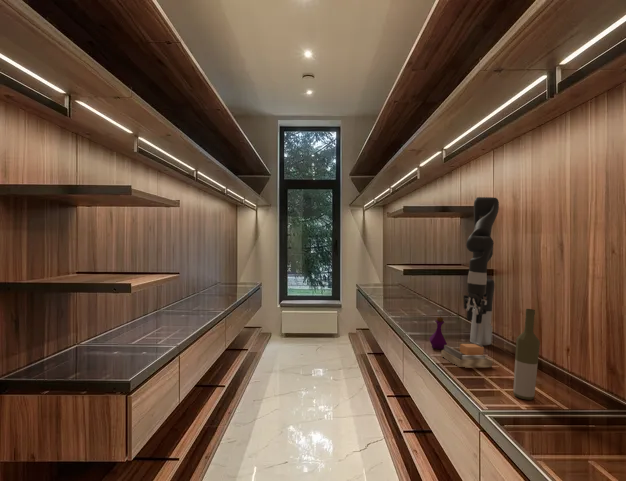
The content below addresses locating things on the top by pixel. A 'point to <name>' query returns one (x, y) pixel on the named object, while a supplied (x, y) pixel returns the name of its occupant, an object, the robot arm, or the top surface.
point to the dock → (465, 358)
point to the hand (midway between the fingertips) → (473, 321)
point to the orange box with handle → (471, 349)
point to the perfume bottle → (438, 334)
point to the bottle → (526, 360)
